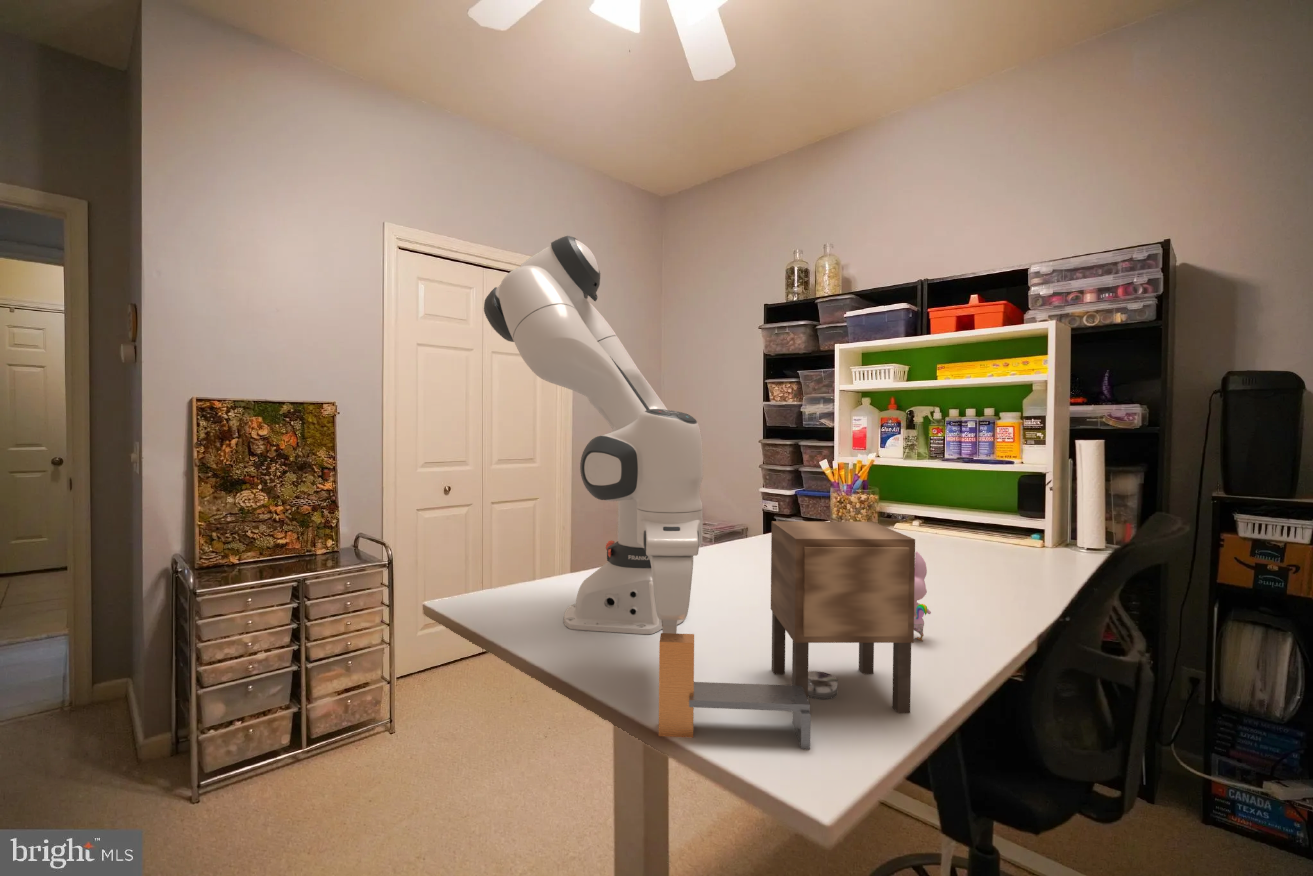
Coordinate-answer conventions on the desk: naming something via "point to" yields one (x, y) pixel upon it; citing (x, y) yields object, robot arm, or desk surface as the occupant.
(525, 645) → the desk surface
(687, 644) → the tan and grey bench
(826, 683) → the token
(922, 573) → the rabbit figure
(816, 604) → the cabinet
